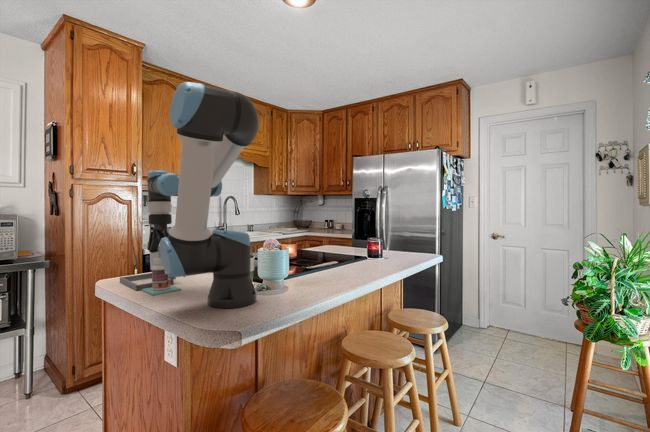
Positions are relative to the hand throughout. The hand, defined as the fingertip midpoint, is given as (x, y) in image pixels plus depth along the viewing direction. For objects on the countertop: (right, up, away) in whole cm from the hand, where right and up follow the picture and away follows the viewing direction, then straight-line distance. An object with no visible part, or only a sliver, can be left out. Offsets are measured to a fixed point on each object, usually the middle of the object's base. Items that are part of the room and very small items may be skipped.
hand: (161, 271), depth 122 cm
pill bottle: (0, -7, +1) cm, 7 cm away
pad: (0, -7, +1) cm, 7 cm away
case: (-12, -7, +12) cm, 18 cm away
